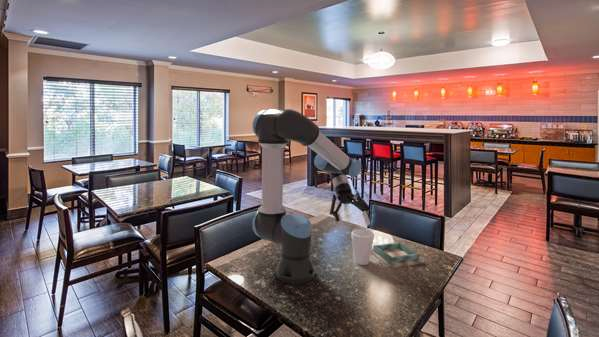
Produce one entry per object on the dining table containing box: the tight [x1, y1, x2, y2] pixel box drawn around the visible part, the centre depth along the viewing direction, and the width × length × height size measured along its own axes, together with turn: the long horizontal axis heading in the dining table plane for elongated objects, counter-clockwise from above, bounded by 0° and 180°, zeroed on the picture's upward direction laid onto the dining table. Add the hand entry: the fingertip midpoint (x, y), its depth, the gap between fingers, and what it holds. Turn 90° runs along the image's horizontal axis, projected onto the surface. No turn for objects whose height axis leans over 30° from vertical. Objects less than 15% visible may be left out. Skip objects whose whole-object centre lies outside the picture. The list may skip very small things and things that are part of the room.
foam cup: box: [350, 228, 375, 266], centre depth 141 cm, size 10×9×13 cm
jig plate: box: [370, 241, 425, 269], centre depth 147 cm, size 17×17×4 cm
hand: (355, 226), depth 148 cm, fingers open, 13 cm apart
